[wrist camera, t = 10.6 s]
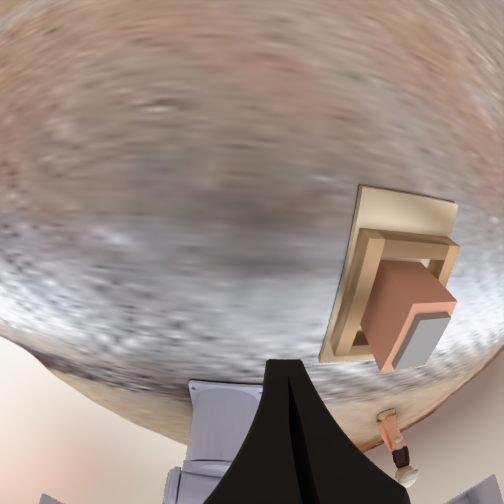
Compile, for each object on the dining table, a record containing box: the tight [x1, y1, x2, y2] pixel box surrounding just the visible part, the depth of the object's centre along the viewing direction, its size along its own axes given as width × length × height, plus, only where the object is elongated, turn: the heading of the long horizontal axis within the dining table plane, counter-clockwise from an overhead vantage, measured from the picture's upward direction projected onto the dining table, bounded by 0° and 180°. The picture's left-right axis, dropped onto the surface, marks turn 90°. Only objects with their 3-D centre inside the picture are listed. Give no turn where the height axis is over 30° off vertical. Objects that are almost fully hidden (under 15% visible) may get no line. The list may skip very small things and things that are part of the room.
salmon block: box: [360, 260, 457, 372], centre depth 17 cm, size 6×4×6 cm, turn 177°
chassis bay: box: [319, 185, 460, 363], centre depth 19 cm, size 16×9×2 cm, turn 177°
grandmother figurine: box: [377, 409, 419, 488], centre depth 25 cm, size 8×4×13 cm, turn 41°
